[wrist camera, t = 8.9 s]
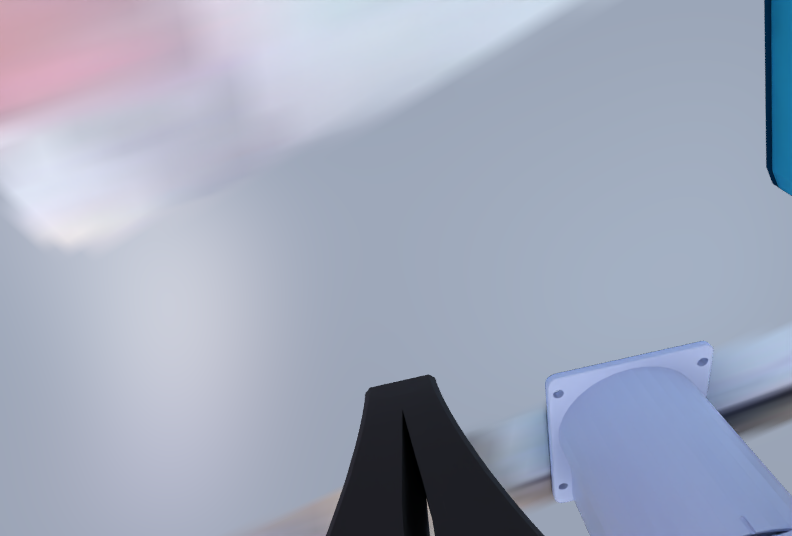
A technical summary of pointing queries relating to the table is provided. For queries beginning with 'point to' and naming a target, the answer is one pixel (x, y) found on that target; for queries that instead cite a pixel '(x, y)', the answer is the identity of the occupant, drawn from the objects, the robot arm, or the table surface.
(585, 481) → the robot arm
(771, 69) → the ice cube tray
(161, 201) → the table surface
